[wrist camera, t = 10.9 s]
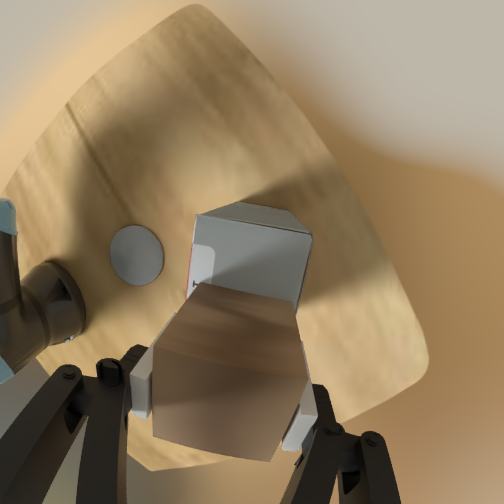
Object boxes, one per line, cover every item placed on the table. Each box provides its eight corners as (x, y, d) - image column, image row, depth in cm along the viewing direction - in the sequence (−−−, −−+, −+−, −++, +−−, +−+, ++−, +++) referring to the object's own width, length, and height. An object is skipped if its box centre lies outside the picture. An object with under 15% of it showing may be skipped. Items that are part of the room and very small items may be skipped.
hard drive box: (234, 200, 36) (196, 207, 16) (291, 211, 36) (321, 230, 16) (217, 308, 39) (177, 400, 20) (269, 318, 39) (269, 418, 19)
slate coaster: (110, 275, 39) (107, 276, 39) (115, 219, 38) (112, 220, 37) (160, 290, 39) (158, 292, 39) (168, 232, 38) (166, 232, 37)
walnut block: (189, 357, 19) (153, 436, 11) (200, 281, 17) (153, 345, 10) (270, 375, 19) (269, 461, 11) (292, 301, 17) (308, 379, 9)
